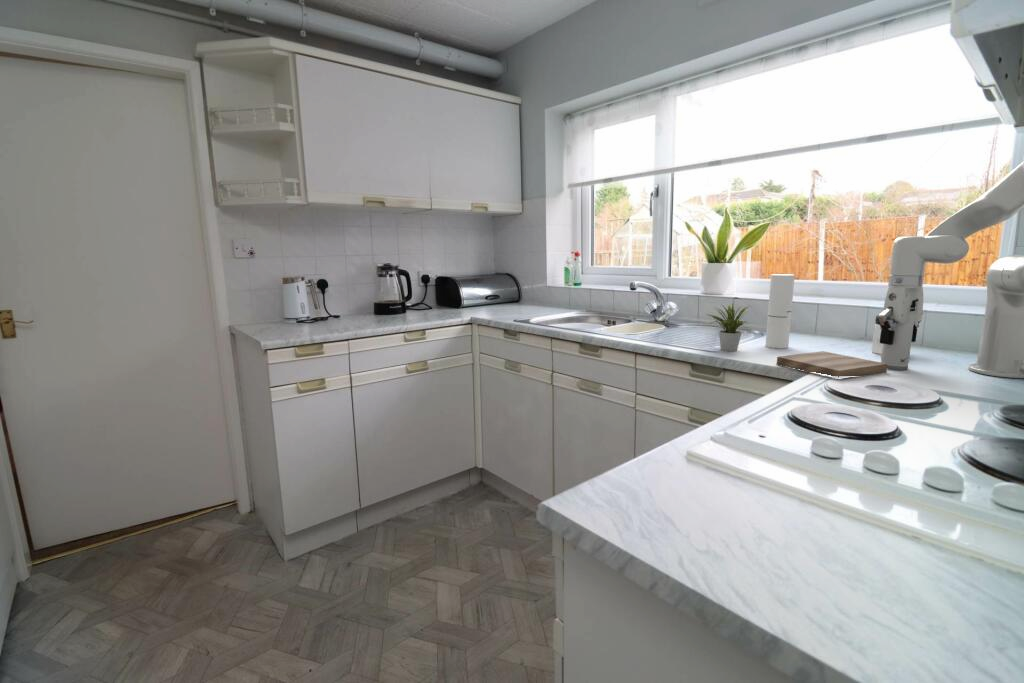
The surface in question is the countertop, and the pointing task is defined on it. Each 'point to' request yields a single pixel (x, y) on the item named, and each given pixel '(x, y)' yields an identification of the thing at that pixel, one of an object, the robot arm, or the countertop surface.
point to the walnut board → (832, 364)
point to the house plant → (729, 328)
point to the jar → (877, 338)
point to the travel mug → (899, 344)
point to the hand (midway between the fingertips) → (897, 342)
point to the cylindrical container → (779, 310)
